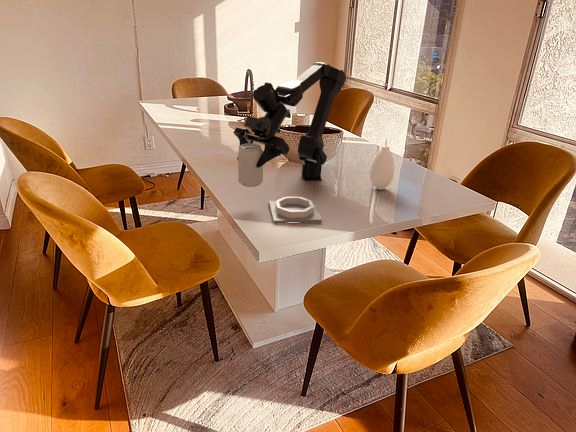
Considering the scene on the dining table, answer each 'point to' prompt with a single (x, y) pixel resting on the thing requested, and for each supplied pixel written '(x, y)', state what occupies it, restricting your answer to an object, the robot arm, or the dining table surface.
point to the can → (249, 165)
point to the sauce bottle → (382, 168)
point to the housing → (294, 210)
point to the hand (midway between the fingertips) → (247, 164)
